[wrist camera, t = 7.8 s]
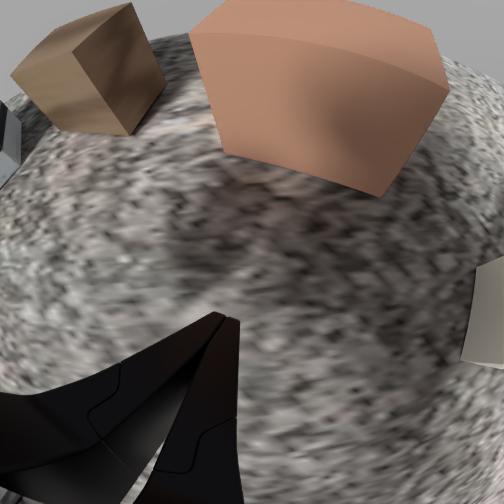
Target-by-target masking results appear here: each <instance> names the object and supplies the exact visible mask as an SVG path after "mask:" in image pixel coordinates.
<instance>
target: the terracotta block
mask: <svg viewBox="0 0 504 504" xmlns="http://www.w3.org/2000/svg"><path fill="white" fill-rule="evenodd" d="M188 34H189V37H190V41H191V44H192V47H193V50H194V54H195V57H196V60H197V63H198V67H199V70H200V73H201V76H202V80H203V83H204V86H205V90H206V93H207V96H208V99H209V103H210V106H211V109H212V112H213V116H214V119H215V122H216V126H217V129H218V132H219V135H220V139H221V142H222V145H223V149H224V152H225V153H226V154H231V155H235V156H240V157H244V158H248V159H253V160H257V161H261V162H265V163H269V164H273V165H277V166H280V167H284V168H288V169H291V170H295V171H299V172H302V173H306V174H309V175H312V176H316V177H319V178H322V179H326V180H329V181H332V182H335V183H338V184H342V185H345V186H348V187H351V188H354V189H357V190H359V191H362V192H365V193H368V194H371V195H374V196H376V197H379V198H382V196H383V195H384V193H385V192H386V191H387V189H388V188H389V186H390V185H391V183H392V182H393V181H394V179H395V178H396V176H397V175H398V173H399V172H400V170H401V169H402V167H403V166H404V164H405V163H406V161H407V160H408V158H409V157H410V155H411V154H412V152H413V151H414V149H415V148H416V146H417V145H418V143H419V142H420V140H421V138H422V137H423V135H424V134H425V132H426V130H427V129H428V127H429V126H430V124H431V122H432V121H433V119H434V117H435V116H436V114H437V112H438V111H439V109H440V107H441V106H442V104H443V102H444V100H445V99H446V97H447V95H448V93H449V92H450V89H449V85H448V81H447V77H446V73H445V70H444V66H443V63H442V60H441V57H440V54H439V51H438V48H437V45H436V42H435V39H434V37H433V34H432V32H431V29H429V28H427V27H425V26H423V25H420V24H418V23H415V22H413V21H411V20H408V19H405V18H403V17H400V16H397V15H394V14H391V13H389V12H386V11H383V10H379V9H376V8H373V7H369V6H366V5H362V4H359V3H355V2H350V1H346V0H227V1H225V2H224V3H223V4H222V5H220V6H219V7H218V8H217V9H215V10H214V11H213V12H212V13H211V14H209V15H208V16H207V17H206V18H205V19H204V20H202V21H201V22H200V23H199V24H198V25H197V26H196V27H195V28H194V29H193V30H191V31H190V32H189V33H188Z"/></svg>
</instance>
